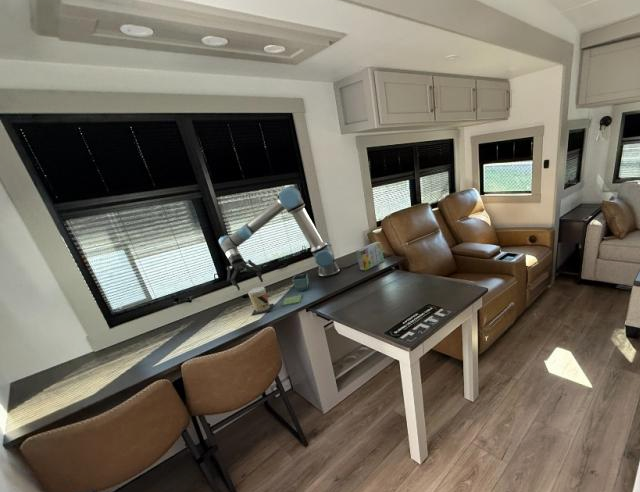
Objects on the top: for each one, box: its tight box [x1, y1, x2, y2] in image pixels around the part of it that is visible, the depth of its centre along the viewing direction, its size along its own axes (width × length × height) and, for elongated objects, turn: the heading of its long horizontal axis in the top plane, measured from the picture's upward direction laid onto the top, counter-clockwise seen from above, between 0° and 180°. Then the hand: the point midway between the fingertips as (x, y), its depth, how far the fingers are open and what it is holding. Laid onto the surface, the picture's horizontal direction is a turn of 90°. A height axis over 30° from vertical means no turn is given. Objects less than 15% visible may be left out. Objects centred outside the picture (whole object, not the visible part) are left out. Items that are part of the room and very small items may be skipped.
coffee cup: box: [247, 286, 270, 312], centre depth 180 cm, size 9×9×12 cm
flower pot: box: [291, 273, 310, 292], centre depth 203 cm, size 9×9×9 cm
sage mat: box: [281, 294, 303, 307], centre depth 189 cm, size 10×10×1 cm
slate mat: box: [251, 303, 275, 316], centre depth 183 cm, size 10×10×1 cm
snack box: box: [355, 241, 385, 272], centre depth 228 cm, size 21×6×15 cm, turn 141°
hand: (250, 285), depth 187 cm, fingers open, 13 cm apart
